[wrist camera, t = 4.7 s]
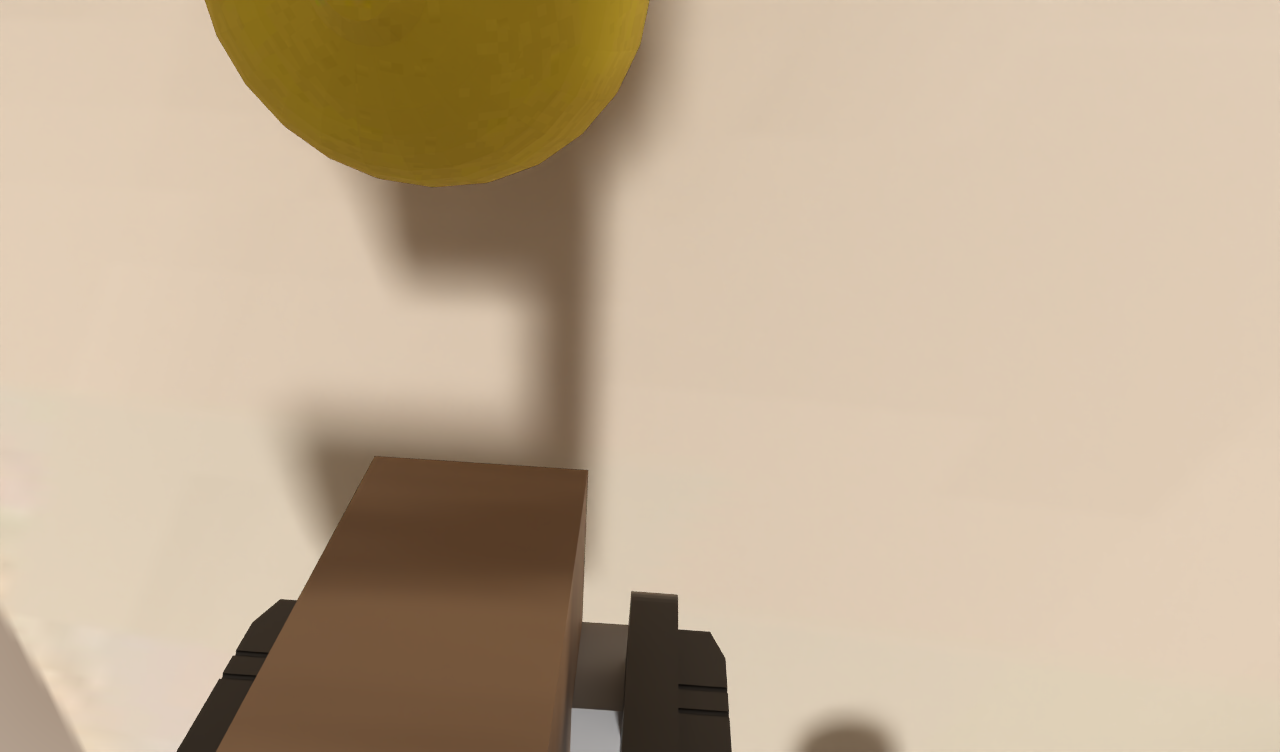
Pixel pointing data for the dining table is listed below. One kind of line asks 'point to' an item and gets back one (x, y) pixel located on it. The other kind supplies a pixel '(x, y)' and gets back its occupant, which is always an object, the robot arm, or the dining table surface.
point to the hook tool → (444, 623)
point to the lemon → (433, 77)
